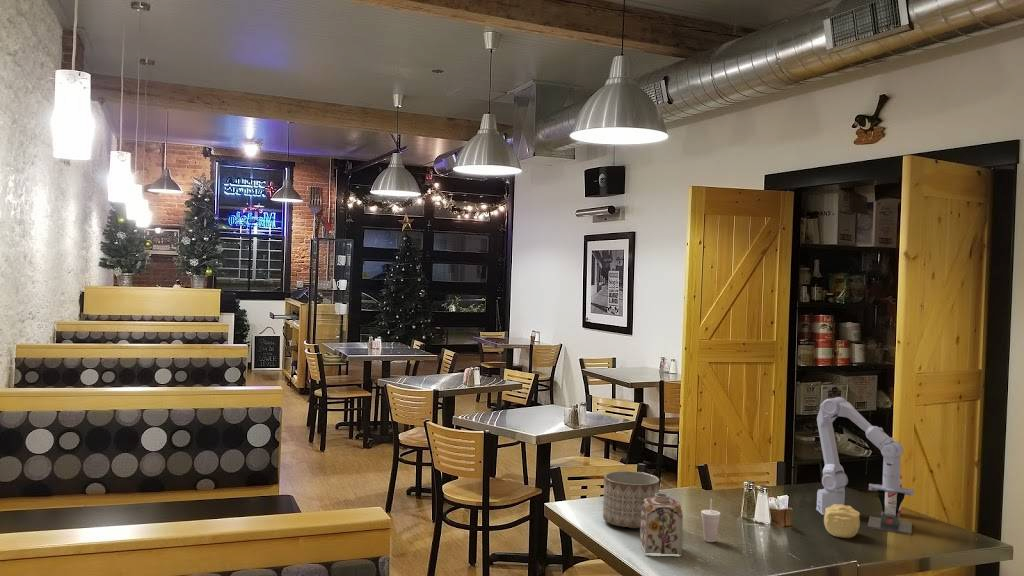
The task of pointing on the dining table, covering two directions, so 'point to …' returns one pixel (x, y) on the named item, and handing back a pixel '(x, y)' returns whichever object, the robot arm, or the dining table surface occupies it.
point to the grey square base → (889, 524)
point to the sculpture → (842, 521)
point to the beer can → (893, 497)
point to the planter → (627, 496)
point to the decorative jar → (661, 525)
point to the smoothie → (710, 523)
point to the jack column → (890, 510)
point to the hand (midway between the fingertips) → (890, 512)
